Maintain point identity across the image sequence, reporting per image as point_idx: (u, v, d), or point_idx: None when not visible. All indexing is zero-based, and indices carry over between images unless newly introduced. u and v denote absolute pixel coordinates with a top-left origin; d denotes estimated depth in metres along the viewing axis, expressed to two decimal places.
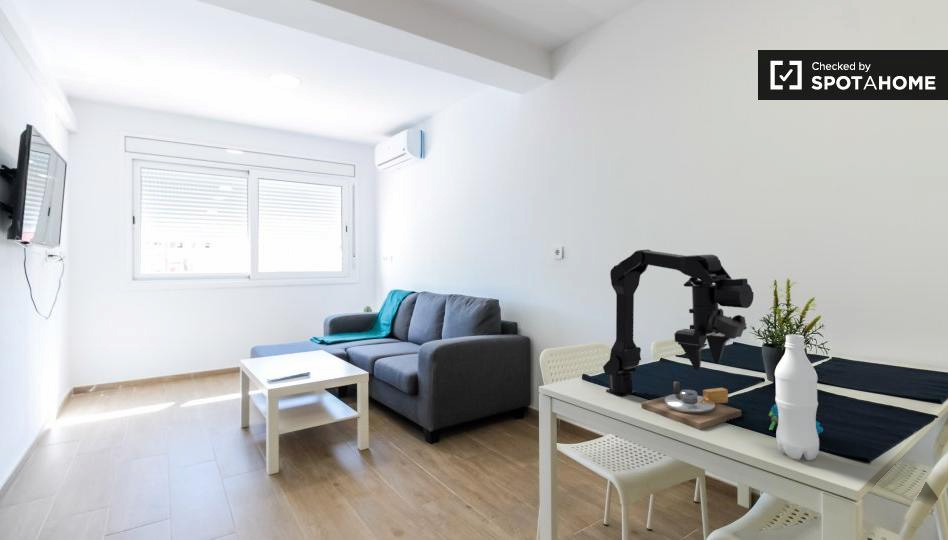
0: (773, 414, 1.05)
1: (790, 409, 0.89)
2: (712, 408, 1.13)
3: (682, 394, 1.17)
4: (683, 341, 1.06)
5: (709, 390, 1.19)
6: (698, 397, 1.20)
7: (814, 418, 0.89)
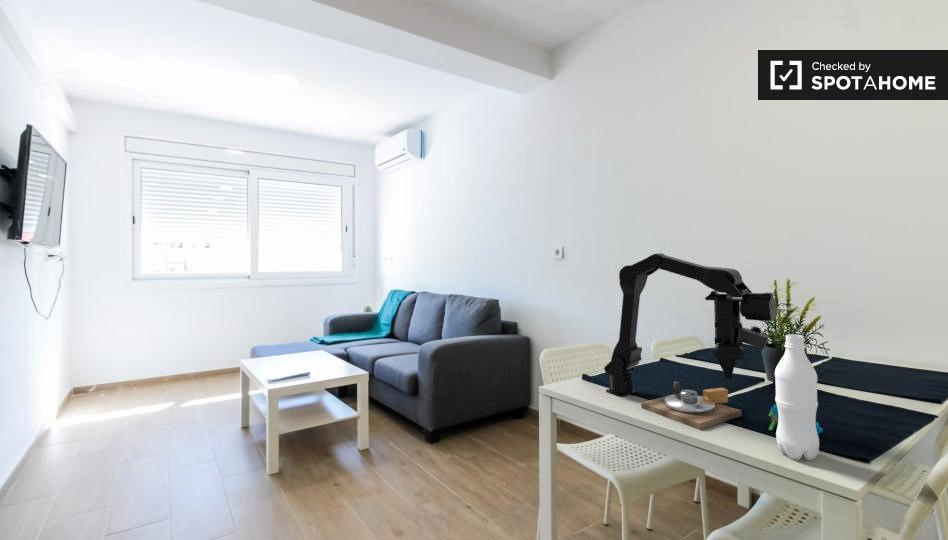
0: (773, 414, 1.05)
1: (790, 409, 0.89)
2: (712, 408, 1.13)
3: (682, 394, 1.17)
4: (726, 357, 1.05)
5: (709, 390, 1.19)
6: (698, 397, 1.20)
7: (814, 418, 0.89)
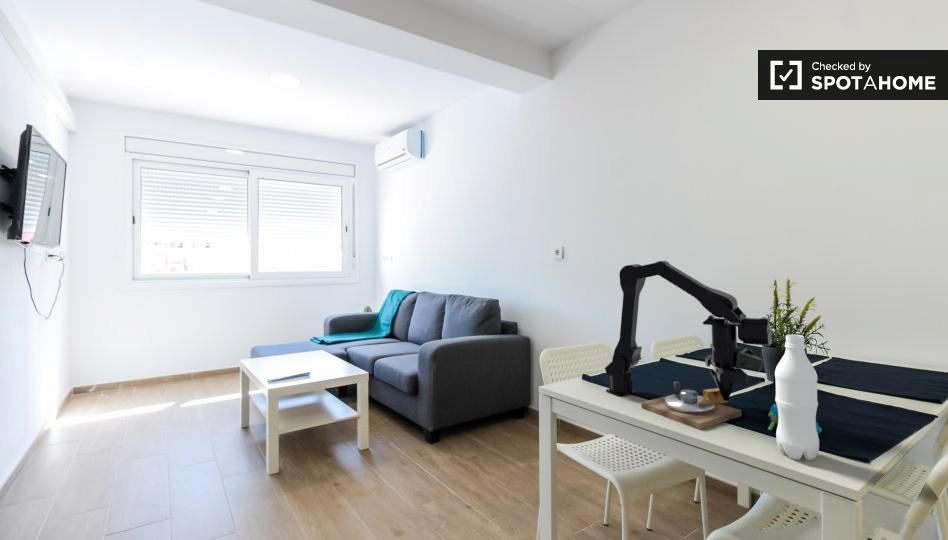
0: (772, 414, 1.05)
1: (790, 409, 0.89)
2: (712, 408, 1.13)
3: (682, 394, 1.17)
4: (732, 381, 1.08)
5: (709, 390, 1.19)
6: (698, 397, 1.20)
7: (814, 418, 0.89)
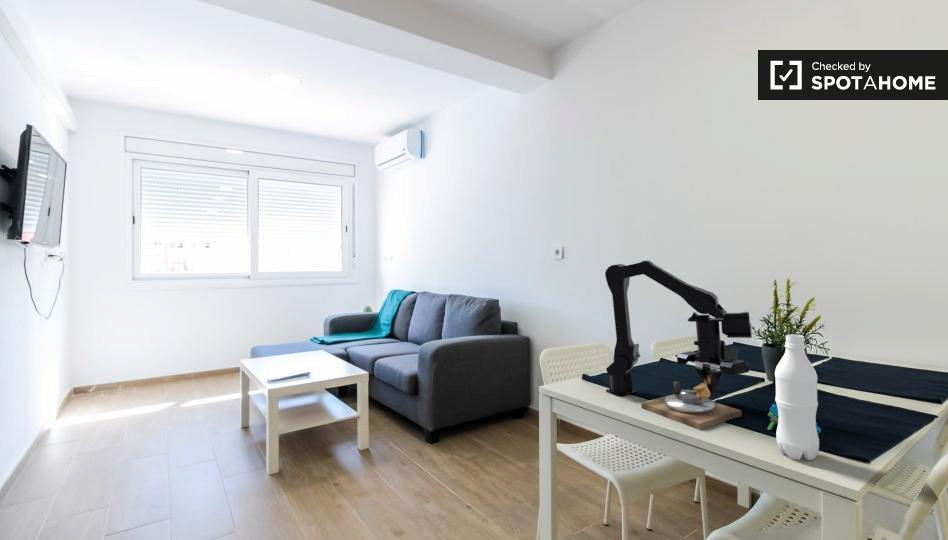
0: (772, 414, 1.05)
1: (790, 409, 0.89)
2: None
3: (685, 395, 1.17)
4: (740, 372, 1.13)
5: (698, 387, 1.22)
6: None
7: (814, 418, 0.89)
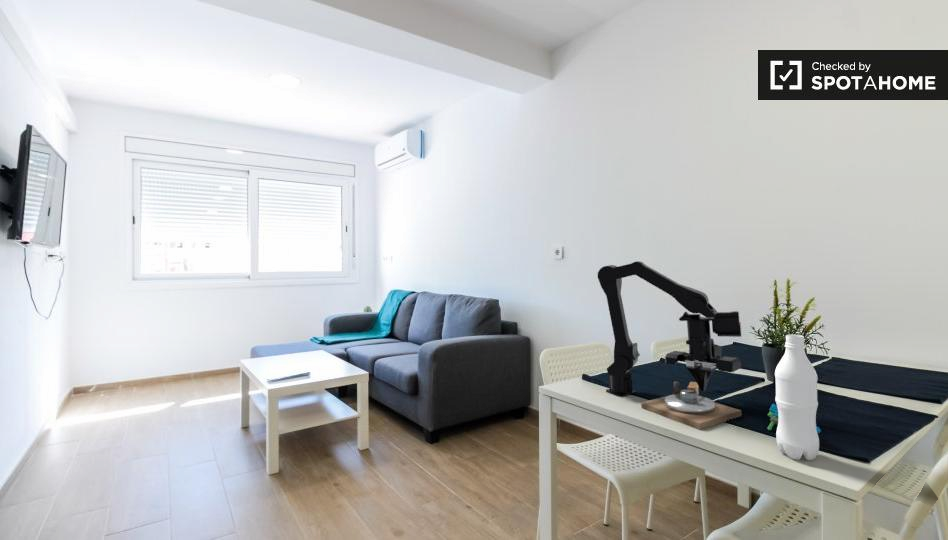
0: (772, 414, 1.05)
1: (790, 409, 0.89)
2: None
3: (688, 395, 1.16)
4: (736, 368, 1.17)
5: (691, 386, 1.23)
6: None
7: (814, 418, 0.89)
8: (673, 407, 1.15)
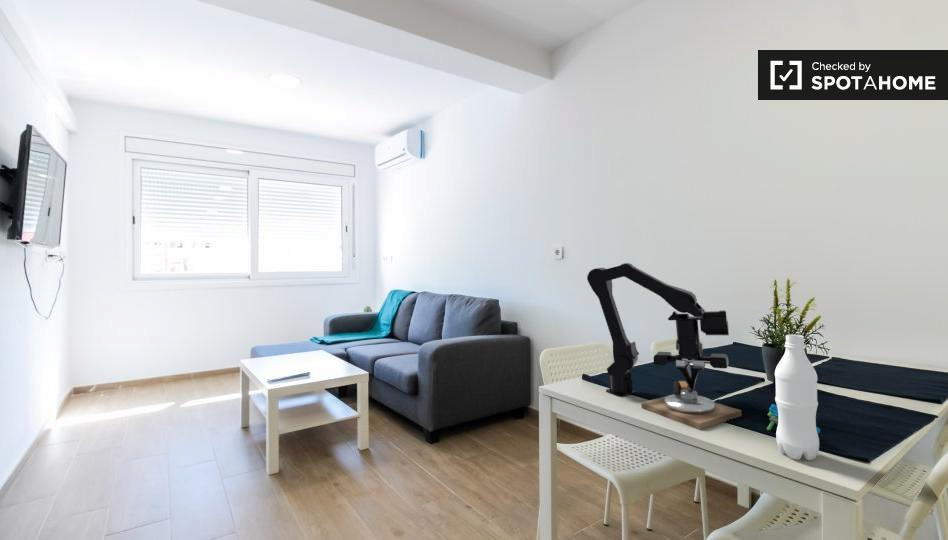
0: (772, 414, 1.05)
1: (790, 409, 0.89)
2: None
3: (690, 396, 1.16)
4: (727, 364, 1.20)
5: (684, 386, 1.24)
6: (679, 396, 1.22)
7: (814, 418, 0.89)
8: (679, 409, 1.14)
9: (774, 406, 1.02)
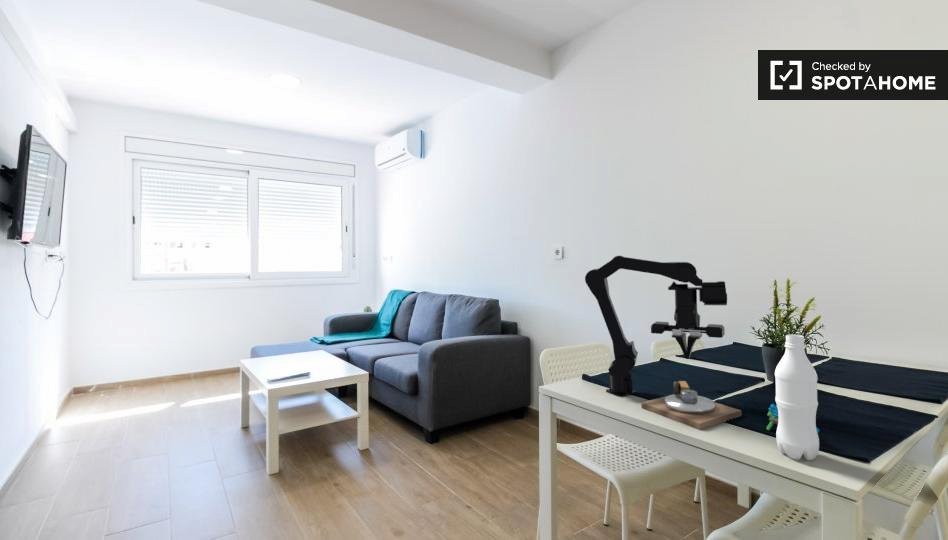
0: (771, 414, 1.05)
1: (790, 409, 0.89)
2: None
3: (690, 396, 1.16)
4: (723, 334, 1.22)
5: (684, 386, 1.24)
6: (679, 396, 1.22)
7: (814, 418, 0.89)
8: (679, 409, 1.14)
9: (773, 406, 1.02)
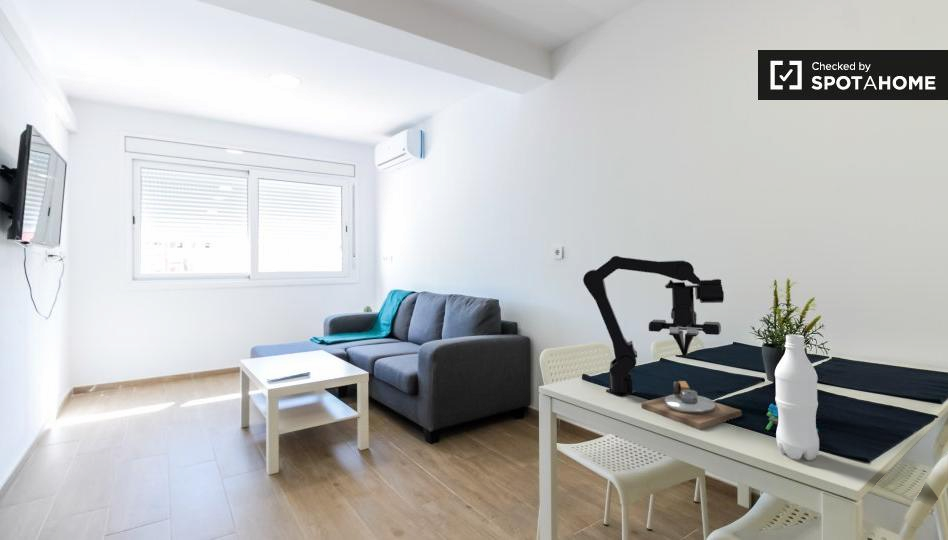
0: (771, 414, 1.05)
1: (790, 409, 0.89)
2: None
3: (690, 396, 1.16)
4: (719, 331, 1.24)
5: (684, 386, 1.24)
6: (679, 396, 1.22)
7: (814, 418, 0.89)
8: (679, 409, 1.14)
9: (773, 406, 1.02)
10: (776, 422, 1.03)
